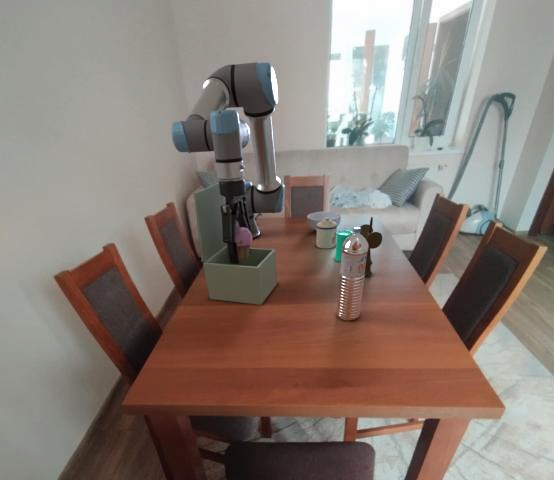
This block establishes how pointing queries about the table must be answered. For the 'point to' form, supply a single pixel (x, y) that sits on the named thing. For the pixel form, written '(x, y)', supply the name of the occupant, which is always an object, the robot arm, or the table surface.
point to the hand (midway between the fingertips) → (240, 257)
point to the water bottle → (352, 276)
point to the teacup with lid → (326, 234)
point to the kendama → (370, 243)
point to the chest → (241, 276)
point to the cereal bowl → (322, 218)
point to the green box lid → (209, 220)
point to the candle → (340, 239)
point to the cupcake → (243, 242)
